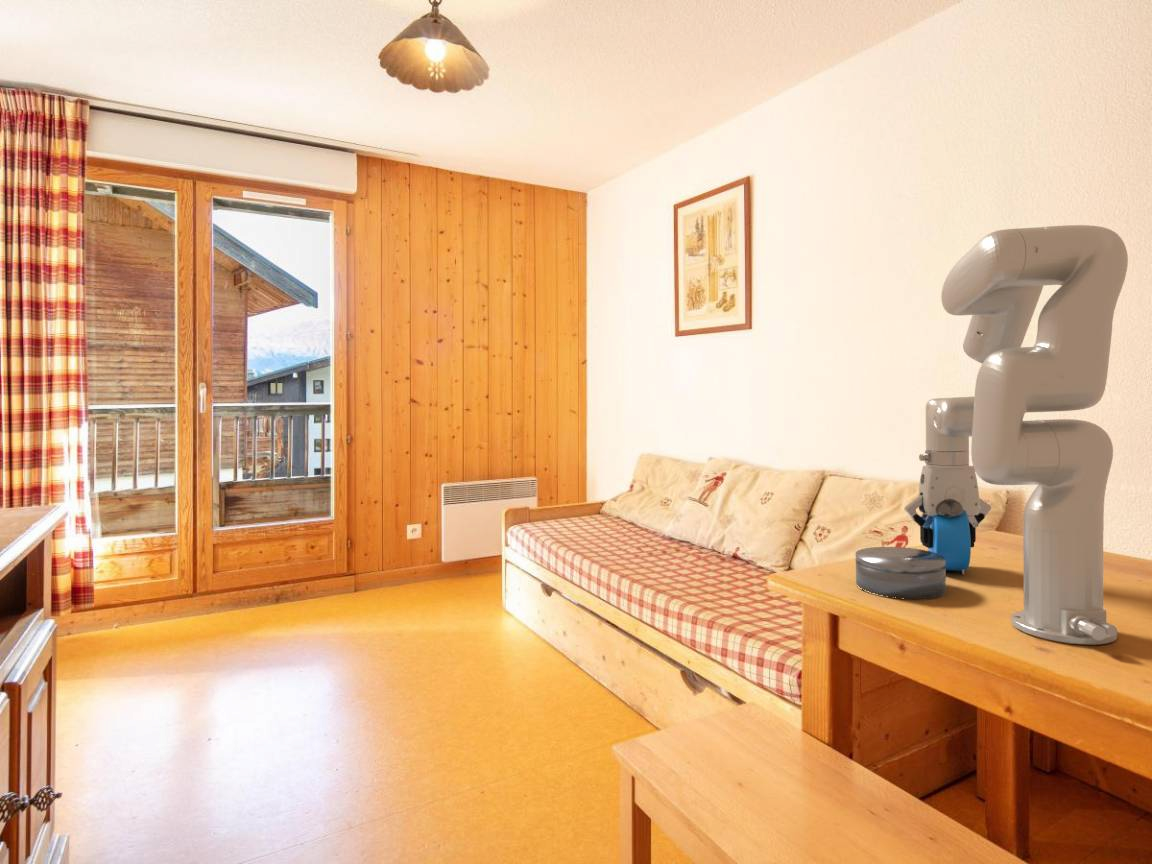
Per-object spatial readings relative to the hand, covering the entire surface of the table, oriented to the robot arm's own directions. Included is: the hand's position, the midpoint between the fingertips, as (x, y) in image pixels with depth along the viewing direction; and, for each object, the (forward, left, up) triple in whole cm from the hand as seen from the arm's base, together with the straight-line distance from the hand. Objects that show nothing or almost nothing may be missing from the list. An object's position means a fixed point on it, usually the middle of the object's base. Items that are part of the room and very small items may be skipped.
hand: (947, 545), depth 130 cm
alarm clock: (0, 0, -5) cm, 5 cm away
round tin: (-11, +14, -5) cm, 19 cm away
